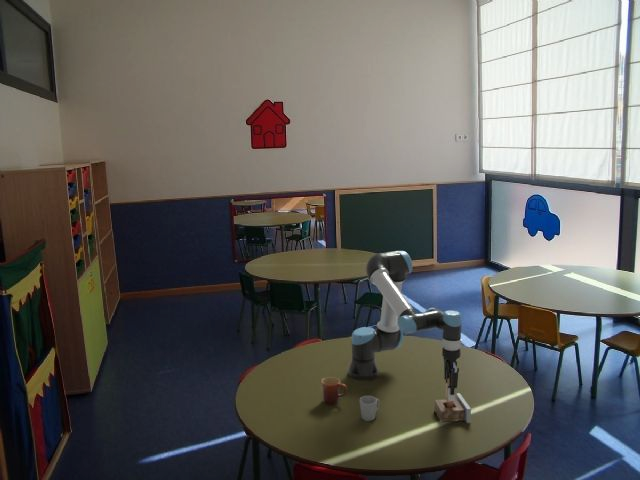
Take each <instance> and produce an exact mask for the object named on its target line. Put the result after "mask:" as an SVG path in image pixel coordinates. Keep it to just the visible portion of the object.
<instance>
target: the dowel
mask: <svg viewBox="0 0 640 480" xmlns="http://www.w3.org/2000/svg"><path fill="white" fill-rule="evenodd" d="M448 386H449V378H448V379H447V398H446V399H447V408H453V405H454V401H448Z"/></svg>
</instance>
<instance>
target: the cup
mask: <svg viewBox="0 0 640 480" xmlns="http://www.w3.org/2000/svg"><path fill="white" fill-rule="evenodd" d="M359 407H360V409H359V410H360V416H361V418H362V420H363V421H366V422H371V421H374V420H375V419H376V413H377V412H378V411H379V409H380V407H381V401H380V399H379V398H376V397H375V396H373V395H363V396H361V397H360V398H359Z"/></svg>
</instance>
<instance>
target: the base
mask: <svg viewBox="0 0 640 480" xmlns="http://www.w3.org/2000/svg"><path fill="white" fill-rule="evenodd" d="M455 399H457V400H458V401H459V402H460V404H461V405H462V407H463V408H464V410H465V420H466V421H465V420H464V421H465V423H466V422H470V421H471V416H472V408H471V407H470V405H469V404H468V402H467V401H466V399H465V398H464V397H463V396H462V394H461V393H459V392H458V393H456V392H455ZM470 423H471V422H470Z"/></svg>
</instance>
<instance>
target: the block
mask: <svg viewBox="0 0 640 480" xmlns="http://www.w3.org/2000/svg"><path fill="white" fill-rule="evenodd" d="M434 412H435V414H436V413H437V414H436V415H437V417H438V419H439V418H440V419H439V421H440V420H441V421H440V422H441V423H447V422H446V421H451V422H457V421H456V420H464V419H465V410H464V408H463V407H462V405H461V404H460V402H459V401H458V400H457V399H456V398H455V401H454V405H453V408H447V398H446V399H434ZM443 421H445V422H443ZM464 421H465V420H464Z"/></svg>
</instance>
